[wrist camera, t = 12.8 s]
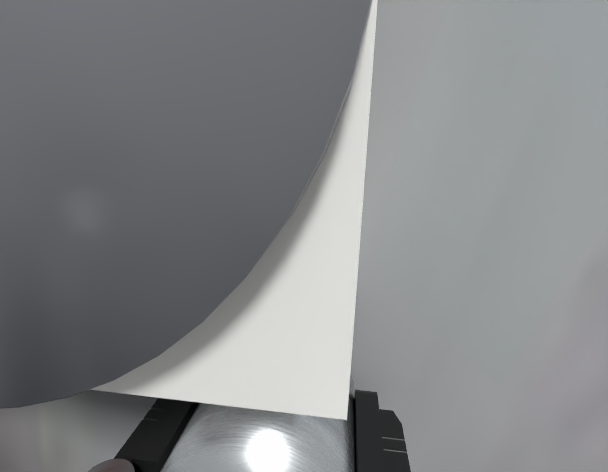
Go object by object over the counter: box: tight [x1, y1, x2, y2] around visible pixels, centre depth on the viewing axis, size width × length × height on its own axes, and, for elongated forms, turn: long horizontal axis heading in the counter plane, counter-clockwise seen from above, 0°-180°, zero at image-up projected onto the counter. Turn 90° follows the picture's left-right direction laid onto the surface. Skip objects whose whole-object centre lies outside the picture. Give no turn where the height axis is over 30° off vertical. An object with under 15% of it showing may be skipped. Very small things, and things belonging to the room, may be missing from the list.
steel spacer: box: [160, 374, 356, 472], centre depth 10 cm, size 5×5×5 cm
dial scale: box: [0, 0, 378, 420], centre depth 7 cm, size 14×14×7 cm
